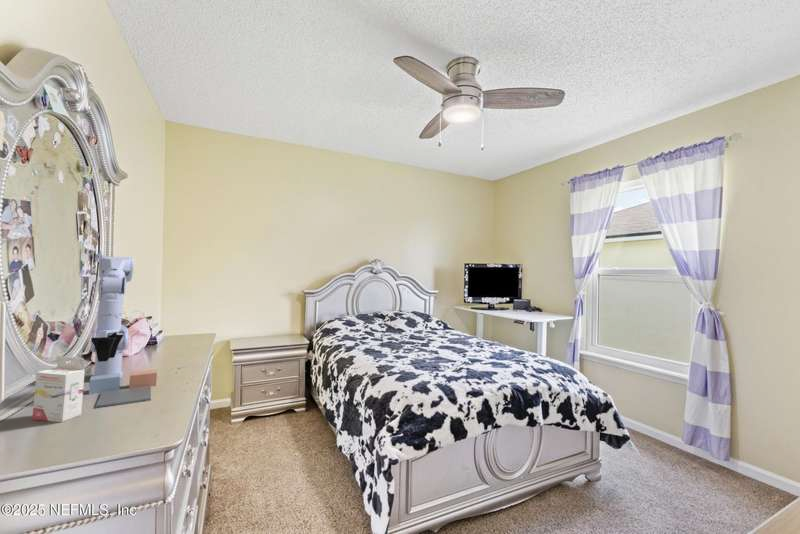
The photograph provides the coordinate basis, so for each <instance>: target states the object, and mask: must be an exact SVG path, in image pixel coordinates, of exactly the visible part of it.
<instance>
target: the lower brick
mask: <svg viewBox="0 0 800 534" xmlns="http://www.w3.org/2000/svg"><path fill="white" fill-rule="evenodd" d="M120 384H121V379H120V373H119V374H109V375H100V376H94V375H92V376H90V379H89V385H88V387H89V388H88V395H89V394H90V395H95V394H94V393H98V394H101V392H102V391H110V390H118V389H120V386H121V385H120Z"/></svg>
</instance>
